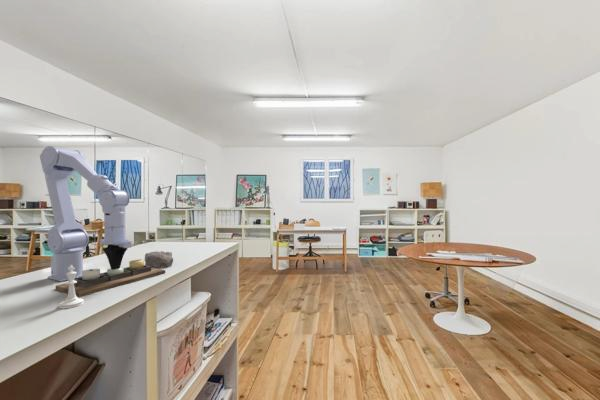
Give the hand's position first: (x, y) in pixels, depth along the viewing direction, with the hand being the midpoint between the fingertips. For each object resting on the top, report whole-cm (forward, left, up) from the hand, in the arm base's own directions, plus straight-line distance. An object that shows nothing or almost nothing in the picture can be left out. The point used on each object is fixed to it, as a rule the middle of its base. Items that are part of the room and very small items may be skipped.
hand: (115, 268), depth 89 cm
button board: (0, 0, -4) cm, 4 cm away
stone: (-5, +19, -4) cm, 20 cm away
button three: (0, +7, -1) cm, 7 cm away
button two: (0, 0, -3) cm, 3 cm away
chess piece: (+12, -17, -4) cm, 21 cm away
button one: (0, -7, -1) cm, 7 cm away
